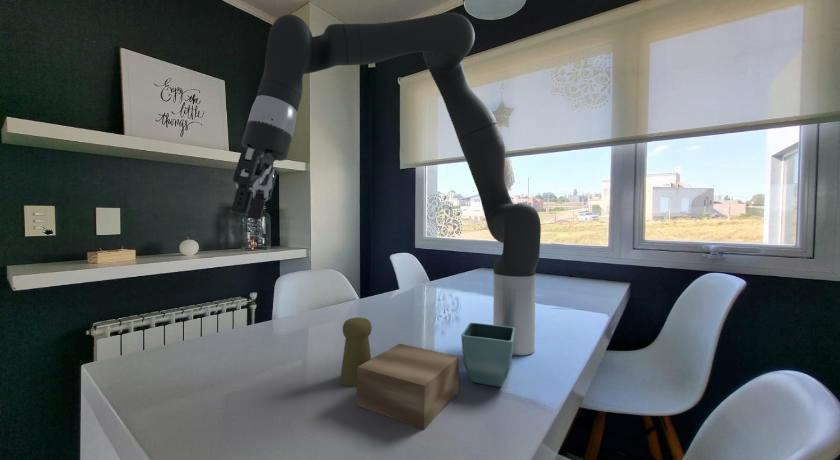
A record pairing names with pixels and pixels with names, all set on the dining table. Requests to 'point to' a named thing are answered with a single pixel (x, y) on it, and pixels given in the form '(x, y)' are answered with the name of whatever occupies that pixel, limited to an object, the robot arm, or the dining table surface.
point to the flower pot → (487, 352)
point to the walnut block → (408, 384)
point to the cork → (355, 349)
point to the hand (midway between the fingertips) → (247, 216)
